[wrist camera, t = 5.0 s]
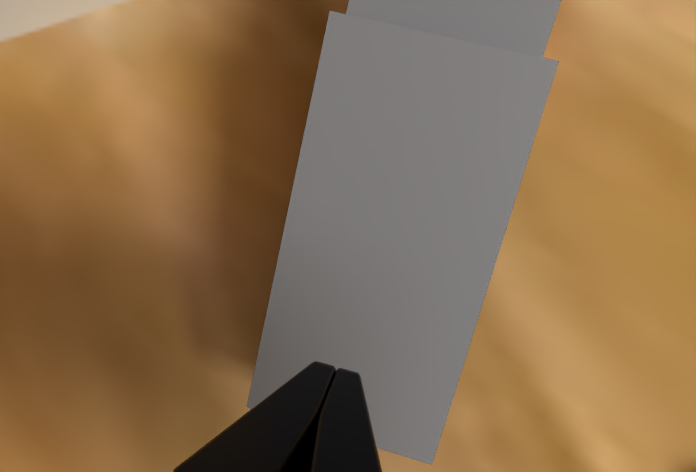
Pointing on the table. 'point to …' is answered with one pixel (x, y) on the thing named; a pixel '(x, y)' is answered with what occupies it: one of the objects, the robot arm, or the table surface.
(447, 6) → the domino
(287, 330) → the domino
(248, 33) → the table surface
